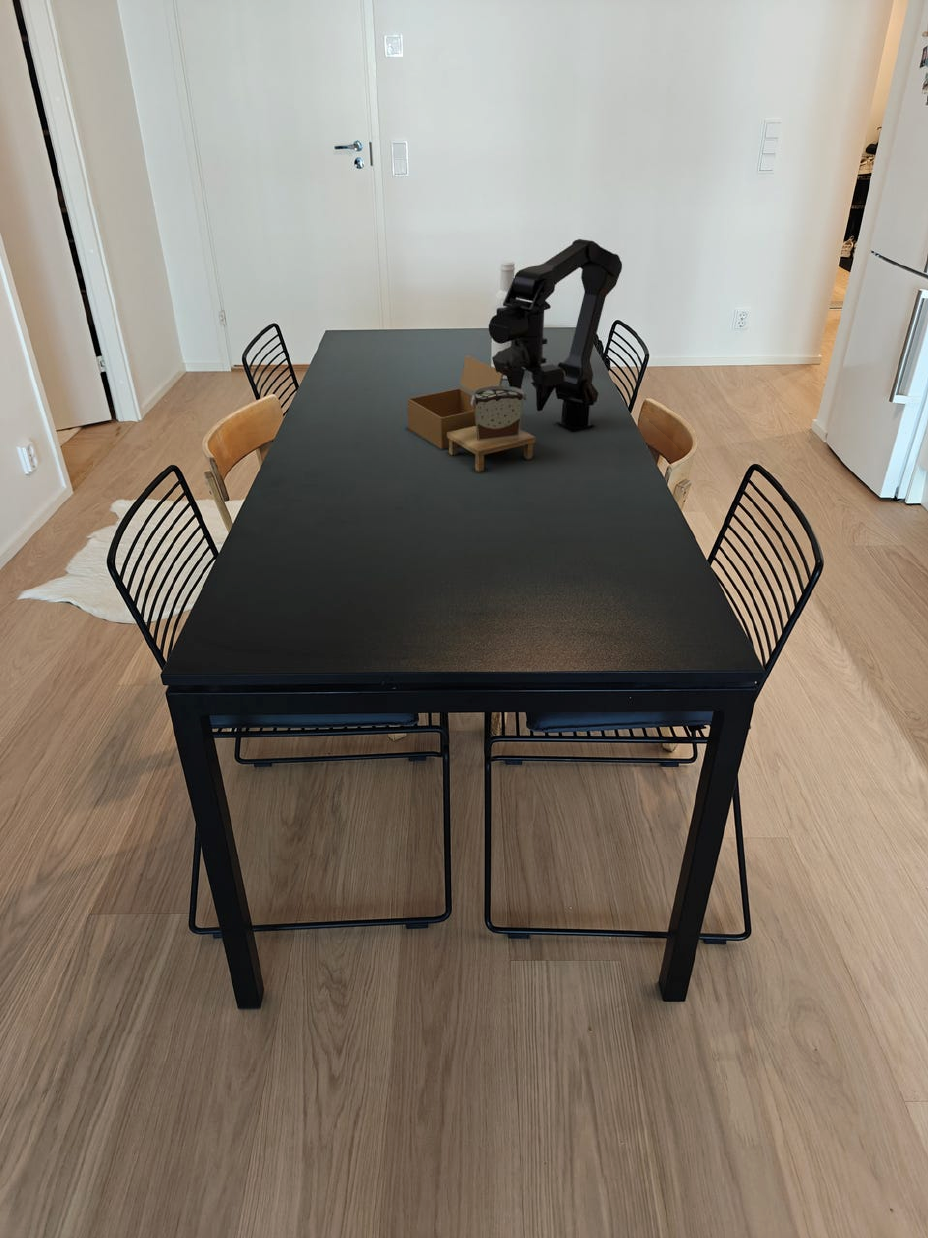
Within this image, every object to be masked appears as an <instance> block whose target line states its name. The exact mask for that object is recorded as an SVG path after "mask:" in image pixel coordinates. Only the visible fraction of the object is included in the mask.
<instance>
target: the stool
mask: <svg viewBox="0 0 928 1238" xmlns="http://www.w3.org/2000/svg"><path fill="white" fill-rule="evenodd" d="M447 438H449V448H448V454H449V455H451V456H456V455H458V446H460V447H462V448H464V449H465V450H467V451H469V452H471V453H472V454H474V455H475V456H474V457H475V459H474V462H475V463H474V465H475V466H474V470H475V471H476V472H478V473H481V472H484V471H485V456H486V455H489V454H493V453H497V452H500V451H501V452H502V451H505V450H509V449H513V448H517V447H521V446H524V448H523V451H524V452H523V458H524V459H526V460H530V459H533V458H534V457H533V455H534V444H535V443H536V436H534V435H532V434H530V433H528V432H527V431H525V430H523V429H521V428H520V430H519V436H517V437H509V438H500V439H491V440H483V441H478V439H477V431H476V426H473V427H468V428H464V429H460V430H455V431H451V432H447ZM457 444H459V445H458V446H457Z"/></svg>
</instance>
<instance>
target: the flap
mask: <svg viewBox="0 0 928 1238" xmlns="http://www.w3.org/2000/svg"><path fill="white" fill-rule="evenodd" d="M502 378H503V374H502V373H499V372H496V370H495V368H494V367H492V366H491V365H489V364H487V363H485V362H483V361H481V360H478V359H476V358H474V357H472V356H469V355H467V354H466V355H465V359H464V363H463V368H462V374H461V376H460V381H459V386H460V387H462V388H464V389H466V390H468V391H470V392H472V393H474V392H475V391H476V390H477V389H480V388H483V387H487V386H502V383H503V379H502Z"/></svg>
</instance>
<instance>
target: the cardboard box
mask: <svg viewBox="0 0 928 1238" xmlns="http://www.w3.org/2000/svg"><path fill="white" fill-rule="evenodd" d="M472 395H473V394H472V393H471V392H468V391H467V390H465V389H463V388H461V387H457V388H454V389H448V390H444V391H439V392H433V393H429V394H423V395H418V396H414V397H409V398H407V400H406V401H407V403H406V404H407V427H408V429H409V430H410V431H411V432H414V433H415V434H416V435H418V436H420V437H421V438H423V439H424V440H426V441H428V442H429V443H431V444H432V445H434V446H435V447H437V448H439V449H440V450H445V449H449V438H447V432H451V431H455V430H460V429H464V428H468V427H473V426H476V420H475V410H474V402H473V406H472V405H471V400H472ZM459 446H460V445H459V444H457V447H459Z"/></svg>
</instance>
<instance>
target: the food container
mask: <svg viewBox="0 0 928 1238" xmlns="http://www.w3.org/2000/svg"><path fill="white" fill-rule="evenodd" d="M472 393H473V395H472V400H471V405H472V406H473V402H474V410H475V420H476V431H477V439H478V441H483V440H491V439H500V438H509V437H517V436H519V430H520V429H521V423H522V415H523V408H524V401H527V394H526V393H525V390H524V389H522V388H521V389H519V388H516V387H511V386H509V385H501V386H487V387H483V388H480V389H477V390H476V391H475V392H472Z"/></svg>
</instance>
